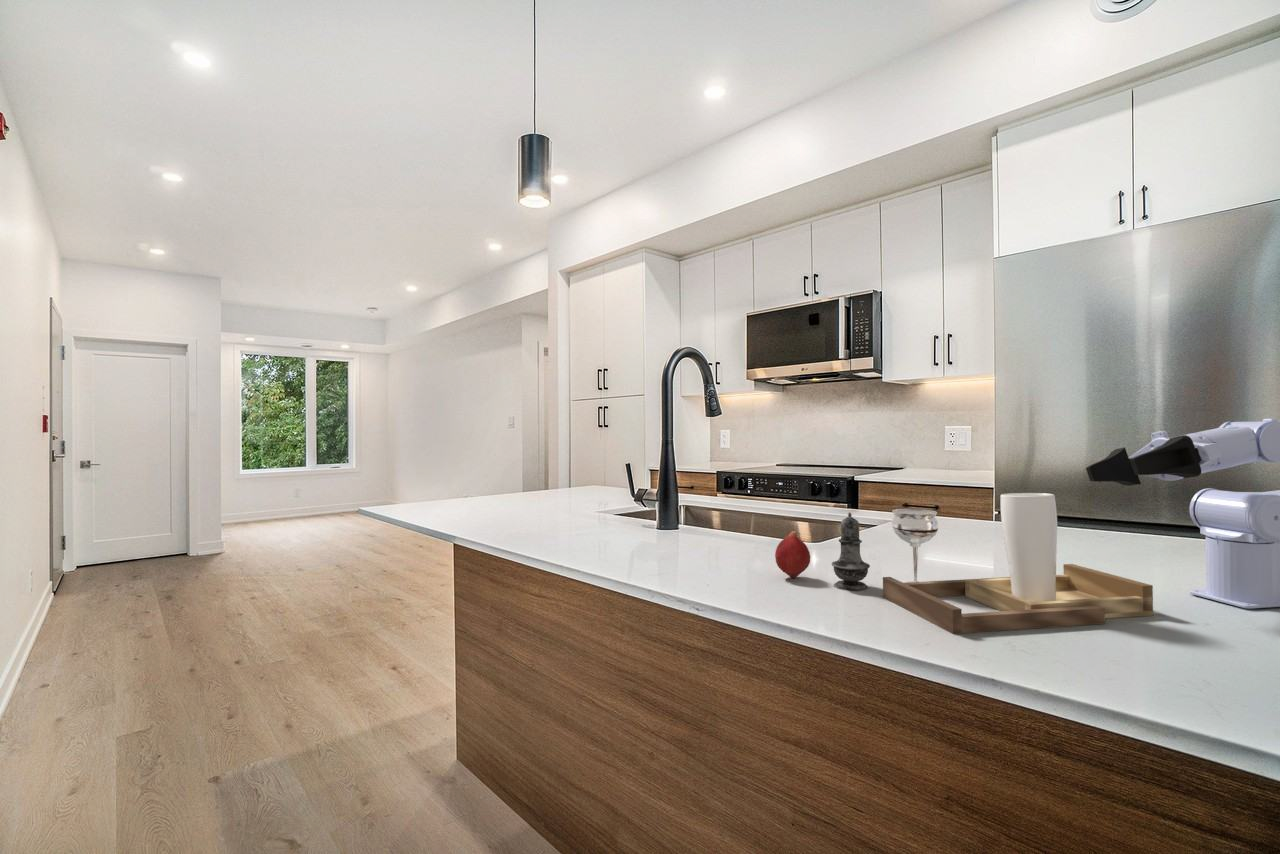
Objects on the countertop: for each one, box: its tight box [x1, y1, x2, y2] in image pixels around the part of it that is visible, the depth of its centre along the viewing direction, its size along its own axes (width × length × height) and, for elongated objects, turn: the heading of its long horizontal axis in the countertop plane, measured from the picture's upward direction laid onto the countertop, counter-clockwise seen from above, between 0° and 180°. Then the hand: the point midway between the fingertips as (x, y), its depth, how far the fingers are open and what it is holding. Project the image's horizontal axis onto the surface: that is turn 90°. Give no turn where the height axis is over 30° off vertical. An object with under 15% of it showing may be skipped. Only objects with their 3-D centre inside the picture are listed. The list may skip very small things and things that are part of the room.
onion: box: [774, 530, 811, 579], centre depth 106 cm, size 6×6×8 cm
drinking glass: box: [999, 492, 1058, 602], centre depth 88 cm, size 7×7×15 cm
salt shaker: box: [831, 511, 871, 592], centre depth 100 cm, size 6×6×12 cm
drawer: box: [964, 563, 1154, 619], centre depth 88 cm, size 18×13×4 cm
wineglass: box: [891, 508, 939, 583], centre depth 99 cm, size 7×7×12 cm
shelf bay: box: [882, 576, 1106, 634], centre depth 86 cm, size 21×17×3 cm
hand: (1111, 470), depth 86 cm, fingers open, 7 cm apart
